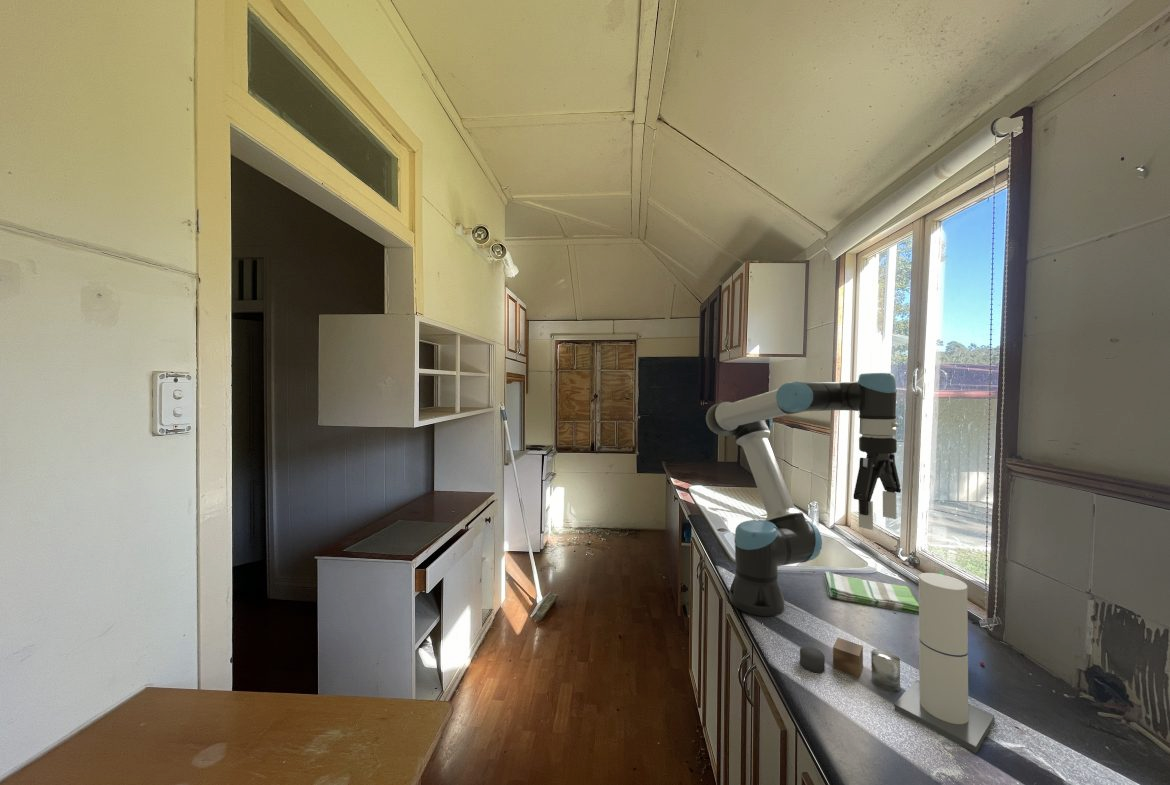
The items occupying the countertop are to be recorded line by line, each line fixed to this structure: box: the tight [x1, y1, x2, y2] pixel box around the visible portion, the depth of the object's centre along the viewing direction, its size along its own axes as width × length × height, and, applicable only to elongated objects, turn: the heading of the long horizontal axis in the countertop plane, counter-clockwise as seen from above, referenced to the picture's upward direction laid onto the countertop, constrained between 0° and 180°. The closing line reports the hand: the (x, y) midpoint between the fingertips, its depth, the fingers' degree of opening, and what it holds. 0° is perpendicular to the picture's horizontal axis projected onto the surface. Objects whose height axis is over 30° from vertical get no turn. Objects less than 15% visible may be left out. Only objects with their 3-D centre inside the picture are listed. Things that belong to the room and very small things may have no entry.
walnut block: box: [832, 636, 864, 679], centre depth 94 cm, size 5×5×5 cm
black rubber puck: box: [799, 646, 826, 674], centre depth 95 cm, size 5×5×3 cm
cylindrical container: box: [918, 572, 969, 724], centre depth 80 cm, size 7×7×25 cm
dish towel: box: [823, 571, 919, 615], centre depth 128 cm, size 17×23×4 cm
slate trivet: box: [893, 679, 996, 754], centre depth 80 cm, size 12×12×1 cm
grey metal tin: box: [870, 648, 901, 693], centre depth 89 cm, size 5×5×6 cm
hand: (878, 522), depth 101 cm, fingers open, 13 cm apart
